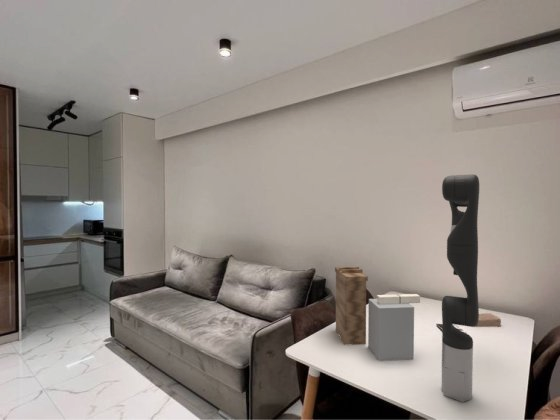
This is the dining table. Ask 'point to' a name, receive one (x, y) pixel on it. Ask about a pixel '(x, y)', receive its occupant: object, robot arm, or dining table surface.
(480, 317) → the brick
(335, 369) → the dining table surface
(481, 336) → the dining table surface
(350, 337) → the walnut shelf
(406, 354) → the grey step block
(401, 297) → the domino bar
